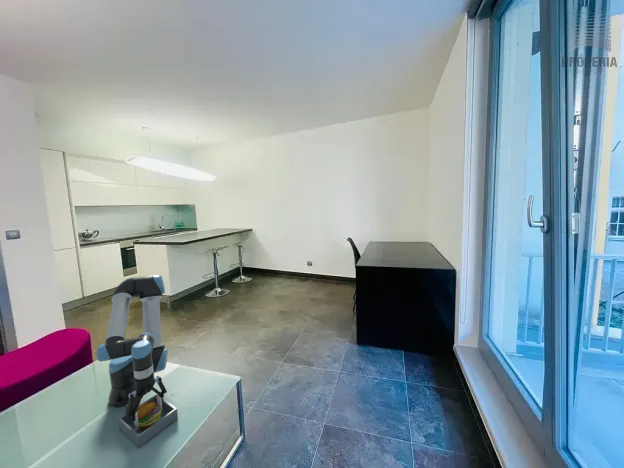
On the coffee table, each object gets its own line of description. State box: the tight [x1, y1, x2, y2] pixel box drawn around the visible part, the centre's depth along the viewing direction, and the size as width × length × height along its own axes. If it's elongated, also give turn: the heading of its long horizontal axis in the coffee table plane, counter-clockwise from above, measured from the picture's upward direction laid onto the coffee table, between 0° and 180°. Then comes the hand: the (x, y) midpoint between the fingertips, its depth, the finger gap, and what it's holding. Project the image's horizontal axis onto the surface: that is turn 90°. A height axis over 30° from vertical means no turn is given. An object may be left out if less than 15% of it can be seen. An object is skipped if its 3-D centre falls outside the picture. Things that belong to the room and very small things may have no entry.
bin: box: [117, 393, 179, 450], centre depth 125 cm, size 18×18×6 cm
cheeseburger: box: [136, 401, 162, 429], centre depth 124 cm, size 10×11×10 cm
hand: (148, 416), depth 124 cm, fingers closed on cheeseburger, 10 cm apart
